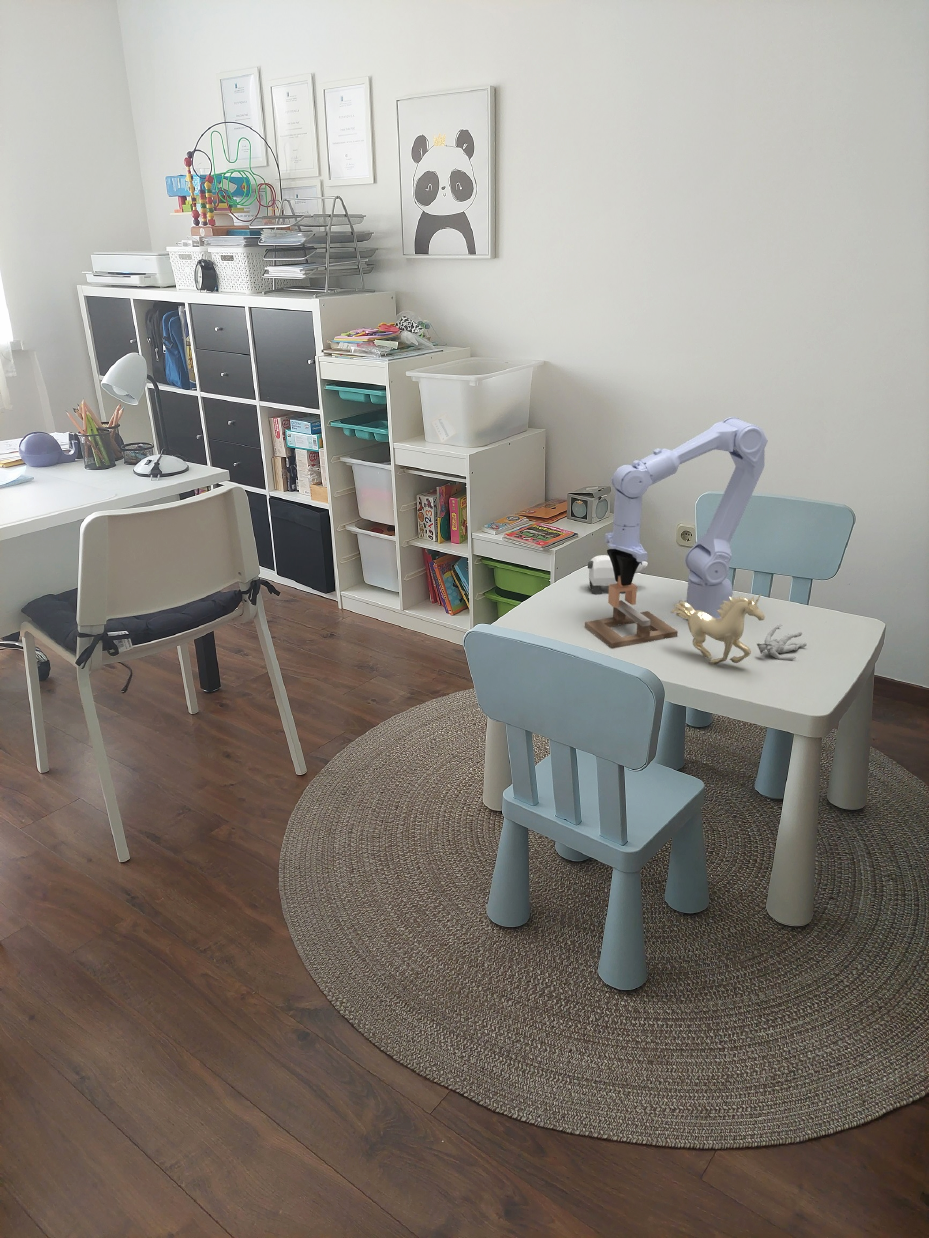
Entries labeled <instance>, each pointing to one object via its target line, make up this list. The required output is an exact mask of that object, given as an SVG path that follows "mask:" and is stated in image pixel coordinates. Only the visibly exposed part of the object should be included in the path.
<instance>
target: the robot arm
mask: <svg viewBox="0 0 929 1238" xmlns="http://www.w3.org/2000/svg"><path fill="white" fill-rule="evenodd" d="M767 445H768V438H767V436H766V435H765V432H764V430H763V429H762V428H761V427H760V426H759V425H757V424H753V423H749V422H748V421H747V422H746V421H745V420H742V419H740V418H739V417H736V416H730V417H727V418H725V419H724V420H722V421H718V422H715V423H714V424H713V425H712V426H711V427H710V428H708V429H707V430H705V431H703V432H702V433H700V434H697V435H696V436H694V437H693V438H691V439H690V440H688V441H685V442H684V443H682V444H680V445H679V446H677V447H676V448H674V449H668V448H665V447H664V448H659V447H657V448H655V449H653V451H652V452H653V453H651V454H649V455H647V456H645V457H643V458H641V459H640V460H637V459H636V460H633V462H632V465H631V464H624V465H620V466H619V467H618V468H617V469H616V471H614V472H613V474H612V477H611V478H610V483H611V485H612V487H613V488H614V491H615V492H614V503H613V504H614V507H613V524H612V532H607V533H605V534H604V542H605V543H606V544H607V547H608V548H607V550H606V553H607V555H608V556H609V557H610V560H611V562H612V566H613V570H614V576H615V580H616V582H618V576H620V578H621V585H622V586H626V585H631V583H633V580H634V576H635V574H636V573H635V572H636V569H637V567H638V566H639V564H640V563H641V562H643V561H645V562H648V552H647V551H646V550H645V549H644V547H643V545H642V544H641V542H640V539H641V538H640V535H641V526H642V525H641V524H642V523H641V521H642V511H643V509H642V507H643V495H645V494H646V493H647V490H648V489H649V487H651V486H653V485H654V484H656V483H658V482H660V481H662V480H665V479H667V478H668V477H670V476H672V475H675V474H676V473H677V471H678V468H679V467H680V465H683V464H684V463H687V462H689V461H692V460H693V459H695V458H698V457H700V456H702V455H705V454H707V453H710V452H711V451H715V450H717V451H723V452H728V454H729V455H730V457H731V460H732V461H733V463H734V466H735V467H734V470H733V472H732V474H731V477H730V479H729V481H728V482H727V483H728V484H727V485H726V487H725V490H724V492H723V495H722V497H721V499H720V501H719V503H718V506H717V508H716V511H715V513H714V515H713V517H712V519H711V521H710V524H709V526H708V528H707V530H706V533H705V534H704V535H700V537H698V538H697V539H696V542H695V544H694V545H693V546H692V547H691V548H690V549H689V550H688V551H687V553H686V554H685V559H684V563H685V566H686V567H687V569H689V573H688V580H687V581H688V582H687V584H688V585H687V592H686V601H685V602H687V603H689V604H690V605H691V606H692V607H693V608H694V609H695V610H700V611H704V612H706V613H708V614H709V615H710V616H712V617H714V618H721V617H720V615H719V614H718V613H719V612H718V611H717V610H718V609H722V608H721V607H720V606H719V605H722V604H724V603H723V601H730V598H729V596H730V597H732V598H733V595H734V594H733V592H734V591H733V585H732V582H731V581H730V579H728V575H729V572H730V561H731V560H732V557H733V553H732V549H731V542H732V539H733V537H734V536H735V535H734V534H735V533H736V530H737V528H738V526H739V524H740V521H741V519H742V517H743V515H744V513H745V510H746V508H747V506H748V504H749V501H750V499H751V498H752V495H753V493H754V491H755V488H756V487H757V484H758V481H759V480H760V477H761V475H762V473H763V471H764V468H765V455H766V454H765V451H766V450H765V449H766V447H767Z"/></svg>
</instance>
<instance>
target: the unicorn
mask: <svg viewBox="0 0 929 1238" xmlns="http://www.w3.org/2000/svg"><path fill="white" fill-rule="evenodd" d="M761 595H762V593H760V594H759V595H758V597H757V598H756V599H755V598H754V596H752V597H751V599H750V598H747V597H744V596H738V597H733V596H732V597H730V596H729V598H730V601H723V603H724V604H722V605H719V606H720V607H721V608H722V609H718V610H717V611H718V612H719V613H718V614H719V615H720V617H721V618H714V617H712V616H710V615H709V614H708V613H706V612H704V611H700V610H695V609H694V608H693V607H692V606H691V605H690V604H689V603H687V602H686V601H684V600H683V601H682V600H680V601H679V602H678V603H675V604H674V608H673V609H672V610H670V613H672V614H674V613H676V614H675V615H676V616H677V617H681V618H683V619H685V620H687V625H688V629H689V632H690V634H691V636H692V638H693V639H692V646H693V647H694V648H695V649H697V650H698V651H699V652H700V653H701V655H702V656H703V657H704V658H706V659H709V658H711V657H712V656H711V652H710V651H709V650H708V649H707V648H706V647H705V646H704V645H703V643H705V642H706V640H707V639H706V638H707V636H708V637H710V638H711V639H713V640H715V641H717V642H722V643H724V650H723V655H722V657H719V658H713V659H711V660H709V662H708V663H709V664H711V665H718V664H719V663H723V662H726V661H727V659H728V658H729V655H730V653H731V650H732V647H733V646H734V647H736V648H737V649H739V650H740V651H742V652H743V655H740V656H737V655H736V656H733V657H730V658H729V661H731V662H732V663H734V664H737V663H740V662H742V661H744V659H746V658H747V657H749V656H750V655H751V654H752V653H751V652H752V650H751V648H750V646H748V645H746V644H744V643H743V642H741V641H740V639H741V638H742V636H743V634H744V628H745V617H746V615H749V616H751V617H754V618H756V619H757V620H758V621H764V620H765V617H766V616H765V613H763V611H761V609H759V605H758V602H759V600H760V598H761Z"/></svg>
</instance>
